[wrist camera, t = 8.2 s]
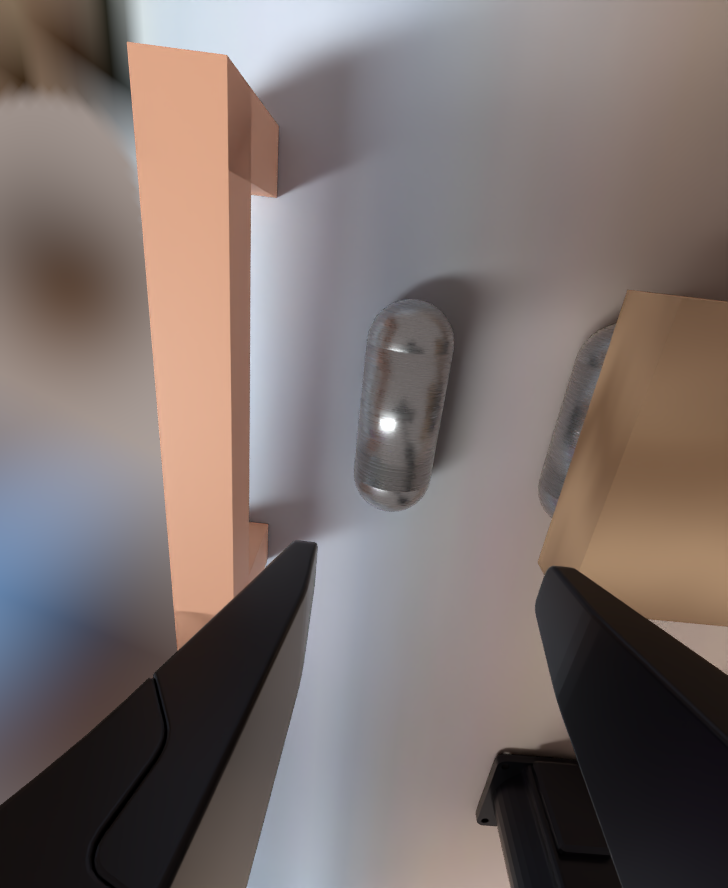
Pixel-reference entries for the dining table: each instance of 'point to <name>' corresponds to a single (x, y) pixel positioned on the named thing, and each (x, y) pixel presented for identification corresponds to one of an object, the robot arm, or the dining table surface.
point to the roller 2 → (572, 416)
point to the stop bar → (202, 309)
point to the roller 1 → (402, 403)
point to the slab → (654, 465)
